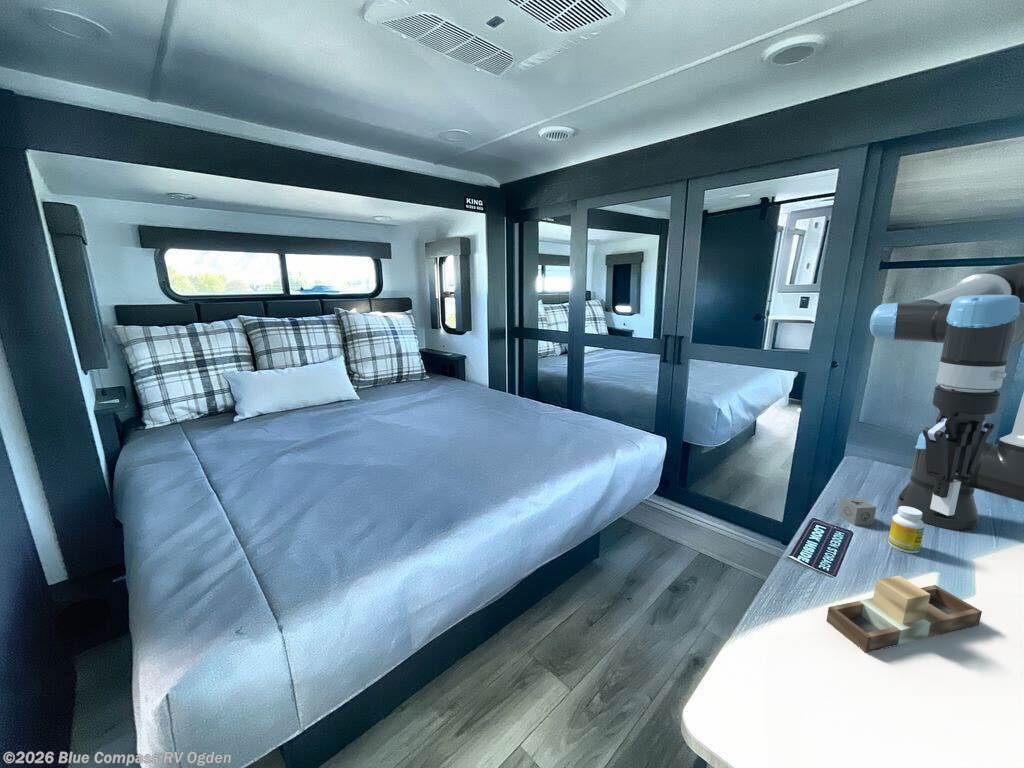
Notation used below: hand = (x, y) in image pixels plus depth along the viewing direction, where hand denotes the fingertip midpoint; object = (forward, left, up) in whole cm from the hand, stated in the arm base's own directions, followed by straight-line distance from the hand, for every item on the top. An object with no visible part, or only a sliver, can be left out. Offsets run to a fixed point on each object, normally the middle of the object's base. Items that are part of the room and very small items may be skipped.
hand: (941, 511), depth 75 cm
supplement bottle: (-15, -14, -20) cm, 29 cm away
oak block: (+11, +3, -16) cm, 20 cm away
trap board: (+9, +3, -19) cm, 22 cm away
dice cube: (-16, -26, -20) cm, 37 cm away
